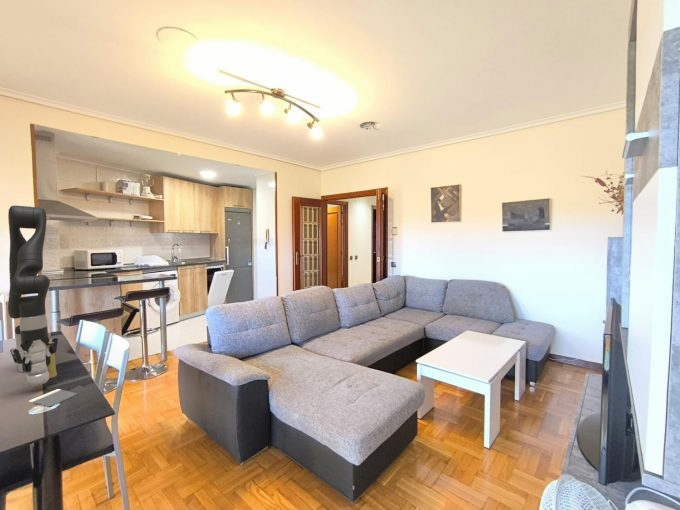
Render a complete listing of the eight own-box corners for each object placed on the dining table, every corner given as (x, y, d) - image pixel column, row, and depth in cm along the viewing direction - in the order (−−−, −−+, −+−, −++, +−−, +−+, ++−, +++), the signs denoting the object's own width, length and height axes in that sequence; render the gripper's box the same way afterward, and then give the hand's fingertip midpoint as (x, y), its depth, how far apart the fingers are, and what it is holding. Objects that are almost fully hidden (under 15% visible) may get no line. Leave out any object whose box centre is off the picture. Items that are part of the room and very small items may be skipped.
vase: (46, 374, 133) (43, 342, 132) (61, 373, 133) (58, 341, 132) (33, 380, 127) (30, 347, 126) (49, 380, 127) (46, 347, 126)
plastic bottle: (29, 390, 115) (25, 339, 113) (24, 385, 118) (20, 335, 117) (52, 383, 120) (48, 334, 119) (46, 378, 124) (43, 331, 122)
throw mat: (28, 402, 110) (28, 400, 110) (58, 390, 119) (57, 388, 119) (49, 407, 107) (49, 406, 107) (78, 394, 115) (77, 393, 115)
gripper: (50, 320, 126) (53, 360, 127) (2, 331, 112) (6, 375, 113) (62, 322, 123) (64, 362, 124) (15, 333, 110) (18, 378, 111)
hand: (37, 368), depth 119 cm, fingers closed on plastic bottle, 5 cm apart
